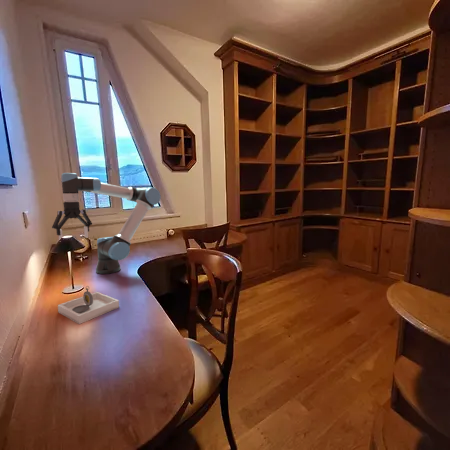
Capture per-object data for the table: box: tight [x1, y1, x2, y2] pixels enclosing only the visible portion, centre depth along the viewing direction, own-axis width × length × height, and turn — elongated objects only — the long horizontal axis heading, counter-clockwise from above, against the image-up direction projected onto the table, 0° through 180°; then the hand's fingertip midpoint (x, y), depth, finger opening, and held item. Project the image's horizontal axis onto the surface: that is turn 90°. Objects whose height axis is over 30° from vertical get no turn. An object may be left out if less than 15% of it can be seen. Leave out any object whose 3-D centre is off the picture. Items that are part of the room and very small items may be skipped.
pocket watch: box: [72, 285, 93, 313], centre depth 111 cm, size 8×8×10 cm
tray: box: [57, 291, 120, 325], centre depth 114 cm, size 18×18×4 cm
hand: (74, 239), depth 141 cm, fingers open, 13 cm apart
